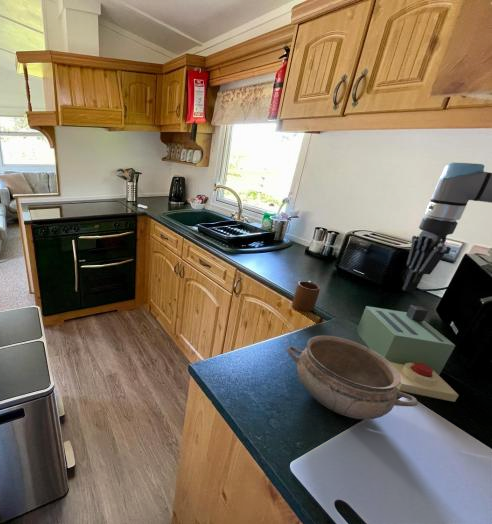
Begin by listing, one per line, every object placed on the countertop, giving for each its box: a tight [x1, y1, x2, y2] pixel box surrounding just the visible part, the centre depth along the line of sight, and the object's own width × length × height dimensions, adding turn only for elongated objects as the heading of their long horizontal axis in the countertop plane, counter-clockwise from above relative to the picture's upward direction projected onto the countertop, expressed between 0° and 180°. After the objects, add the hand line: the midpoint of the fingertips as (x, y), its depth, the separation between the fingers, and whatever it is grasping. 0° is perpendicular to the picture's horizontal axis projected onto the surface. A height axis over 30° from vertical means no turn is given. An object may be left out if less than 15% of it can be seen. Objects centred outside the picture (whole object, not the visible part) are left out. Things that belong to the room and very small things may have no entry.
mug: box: [291, 280, 321, 312], centre depth 112 cm, size 12×8×9 cm, turn 145°
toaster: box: [355, 305, 456, 376], centre depth 87 cm, size 14×17×10 cm
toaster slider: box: [406, 304, 429, 321], centre depth 88 cm, size 3×3×4 cm
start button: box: [412, 363, 433, 377], centre depth 74 cm, size 4×4×2 cm
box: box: [390, 362, 460, 403], centre depth 75 cm, size 12×9×4 cm
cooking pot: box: [286, 335, 419, 420], centre depth 66 cm, size 25×19×12 cm
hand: (408, 290), depth 93 cm, fingers closed
